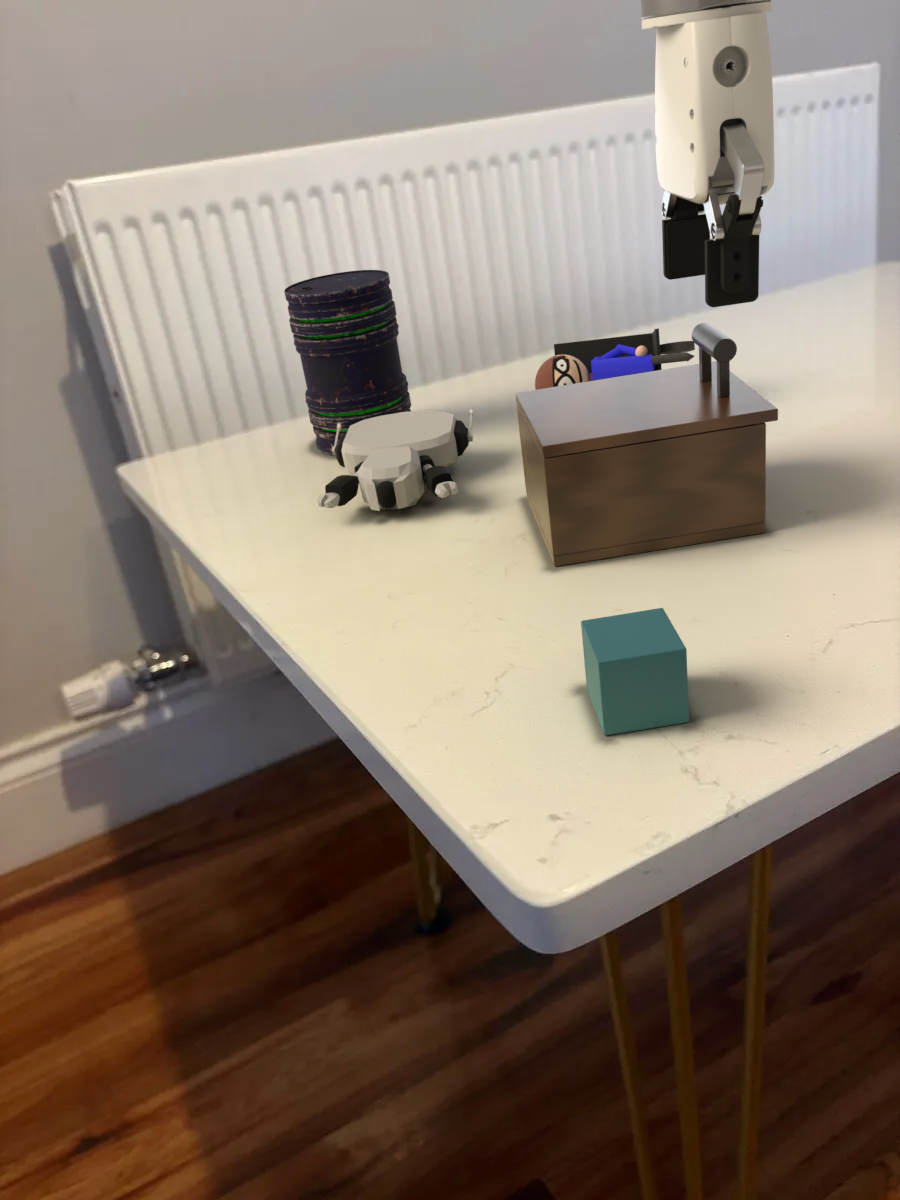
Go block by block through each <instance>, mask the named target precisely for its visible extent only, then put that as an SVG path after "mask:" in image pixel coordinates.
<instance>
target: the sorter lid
mask: <svg viewBox="0 0 900 1200" xmlns="http://www.w3.org/2000/svg"><path fill="white" fill-rule="evenodd" d="M691 341H693V342H694V344H695V345H696V346H697V347H698V363H695V364H690V365H684V366H683V365H682V366H675V367H671V368H664V369H663V368H662V370H657V371H651V372H645V373H638V374H632V375H626V376H620V377H613V378H607V379H601V380H595V381H588V382H582V383H576V384H569V385H563V386H557V387H551V388H544V389H538V390H535V389H532V390H526V391H520V392H515V395H514V396H515V403H516V404H517V405H518V407H519V409H520V411H521V413H522V415H523V417H524V419H525V421H526V423H527V425H528V427H529V429H530V431H531V433H532V435H533V437H534V439H535V441H536V444H537V446H538V448H539V450H540V452H541V454H542V456H543V458H546V457H552V456H559V455H565V454H571V453H577V452H584V451H590V450H596V449H602V448H609V447H615V446H621V445H627V444H634V443H640V442H646V441H652V440H659V439H665V438H671V437H677V436H684V435H690V434H696V433H702V432H709V431H715V430H721V429H727V428H734V427H740V426H746V425H752V424H759V423H771V422H776V421H778V420H779V409H778V408H777V407H776V406H774V404H772V403H771V402H769V400H767V399H766V398H765V397H764V396H762V395H761V394H760V393H758V392H757V391H755V390H754V388H752V386H751V387H750V385H748V384H747V383H745V382H744V381H743V380H742V379H740V377H739V376H737V375H735V374H734V373H733V372H731V369H730V361H733V359H734V358H735V357H736V354H737V352H738V346H737V344H736V342H735V340H733V339H731V338H730V337H729V336H727V335H726V334H725V333H723V332H722V331H720V330H719V329H718V328H717V327H714V326H713V325H712V324H710V323H708V322H701V323H698V324H697V325H695V327H694V328H693V330H692V331H691ZM712 358H713V359H714V361H712ZM517 405H516V406H517Z"/></svg>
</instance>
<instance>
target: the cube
mask: <svg viewBox="0 0 900 1200" xmlns="http://www.w3.org/2000/svg"><path fill="white" fill-rule="evenodd" d="M580 626H581V627H580V628H581V640H582V650H583V661H584V673H585V683H586V684H585V685H586V691H587V694H588V697H589V699H590V702H591V704H592V707H593V709H594V713H595V715H596V718H597V720H598V722H599V726H600V728H601V731H602V734H603V736H604V737H605V736H613V735H617V734H623V733H630V732H636V731H642V730H649V729H655V728H660V727H661V728H662V727H666V726H667V727H668V726H672V725H673V726H674V725H680V724H685V723H689V722H690V709H689V705H690V704H689V682H688V678H689V677H688V651H687V648H686V645H685V643H684V642H683V640H682V639H681V637H680V634H679V633H678V631H677V630H676V628H675V627H674V624H673V623H672V622H671V619H670V618H669V616H668V614H667V613H666V611H665V609H664V608H663V607H658V608H651V609H645V610H640V611H634V612H627V613H622V614H614V615H609V616H602V617H597V618H590V619H584V620H581V621H580Z"/></svg>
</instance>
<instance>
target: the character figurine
mask: <svg viewBox="0 0 900 1200" xmlns="http://www.w3.org/2000/svg"><path fill="white" fill-rule="evenodd" d="M695 345H696V344H695V343H694V342H693V340H681V341H674V342H673V341H672V342H665V343H662V344H661V341H660V328H655V329H654V330H653V332H648V333H642V334H640V333H639V334H633V335H632V334H631V335H623V336H613V337H606V338H596V339H588V340H578V341H569V342H561V343H553V351H554V355H553V356H551V357H550V358H547V359H546V360H545V361H544V362H543V363H542V364H541V365H540V367H539V368H538V369H537V372H536V374H535V379H534V390H538V389H544V388H551V387H557V386H563V385H569V384H576V383H582V382H588V381H595V380H601V379H607V378H613V377H620V376H626V375H632V374H638V373H645V372H651V371H657V370H663V368H662V367H663V366H662V364H671V363H679V362H680V363H682V362H687V363H688V362H689V361H690V360H692V359H693V358H695V357H696V355H693V354H692V353H690V352H693V351H695V350H696V347H695Z"/></svg>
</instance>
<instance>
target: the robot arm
mask: <svg viewBox="0 0 900 1200" xmlns="http://www.w3.org/2000/svg"><path fill="white" fill-rule="evenodd" d="M640 12H641V14H640V16H641V30H642V31H643V30H650V29H656V37H655V60H654V68H655V69H654V139H655V141H654V142H655V160H656V161H655V163H656V172H657V174H656V175H657V181H658V184H659V185H660V187H661V189H662V190H663V196H662V200H661V216H662V218H663V219H662V220H661V231H662V232H661V233H662V234H661V236H662V267H663V268H662V269H663V270H662V272H663V276H664V278H666V279H667V280H678V279H685V278H693V277H698V276H704V300H705V304H706V305H707V306H708V307H710V308H718V307H725V306H732V305H740V304H745V303H746V304H747V303H753V302H755V301H756V300H757V299H758V298H759V293H760V292H759V289H760V285H759V283H760V282H759V281H760V234H761V232H762V220H761V215H760V213H761V210H762V208H763V207H764V199H763V196H764V195H767V194H768V192H769V191H770V190H771V189H772V188H773V185H774V183H775V125H774V90H773V71H772V69H773V68H772V55H771V44H770V36H769V28H768V27H769V26H768V21H767V14H766V13H769V12H773V1H772V0H640ZM722 205H725V206H724V209H723V212H722V210H721V206H722Z"/></svg>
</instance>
